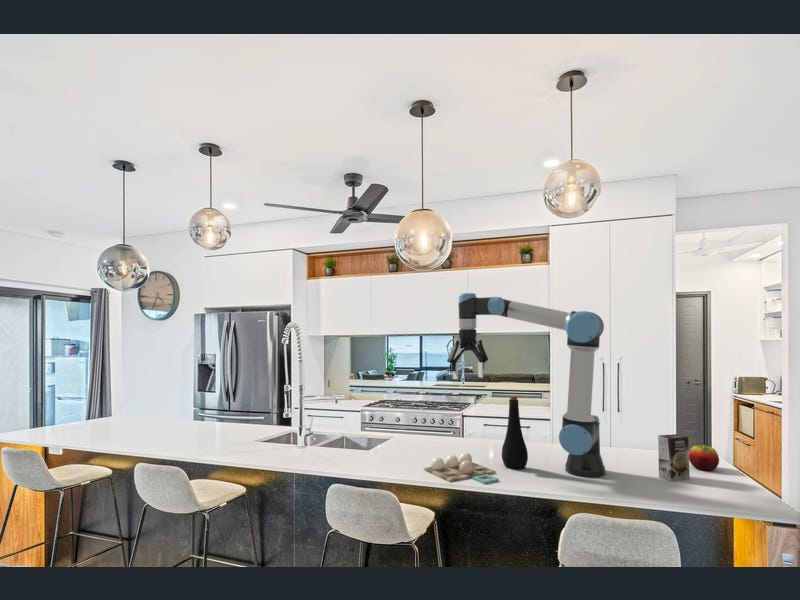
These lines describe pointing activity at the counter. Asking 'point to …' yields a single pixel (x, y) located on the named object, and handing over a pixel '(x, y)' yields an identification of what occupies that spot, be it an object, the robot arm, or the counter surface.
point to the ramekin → (481, 477)
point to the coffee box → (673, 457)
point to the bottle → (514, 439)
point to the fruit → (703, 457)
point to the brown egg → (466, 467)
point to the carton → (458, 472)
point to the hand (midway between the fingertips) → (468, 378)
